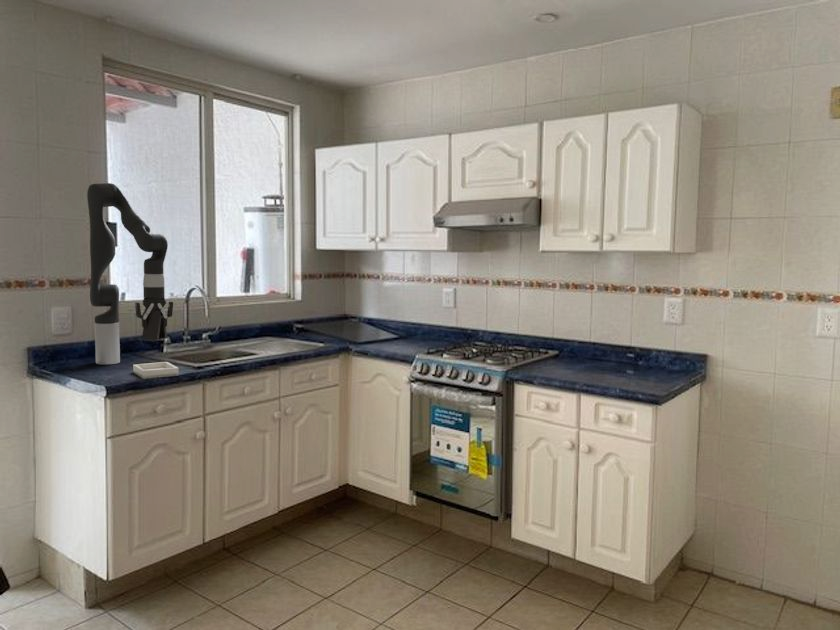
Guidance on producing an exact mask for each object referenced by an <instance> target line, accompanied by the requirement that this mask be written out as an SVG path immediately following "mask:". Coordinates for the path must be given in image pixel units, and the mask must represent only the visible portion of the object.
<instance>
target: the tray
mask: <svg viewBox="0 0 840 630" xmlns="http://www.w3.org/2000/svg"><path fill="white" fill-rule="evenodd" d="M132 365H133V366H132V369H133V370H132V372H133V373H134V374H135V375H137V376H138V377H140V378H141V379H143V380H145V379H147V378H148V379H158V378H166V377H178V376H179V373H180V372H179V371H180V370H179V367H178V366H176V365H174V364H173V363H170V362H168V361H160V362H149V363H138V364H132ZM157 377H158V378H157Z"/></svg>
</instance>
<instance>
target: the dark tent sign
mask: <svg viewBox="0 0 840 630" xmlns="http://www.w3.org/2000/svg"><path fill="white" fill-rule="evenodd" d="M144 310H145V309H144ZM145 311H147V309H146V310H145ZM146 320H147V328H146V329H145V328H143V327H142V335H141V341H145V342H147V341H150V342H151V341H153V342H158V341H162V340H165V339H168V333H167V332H168V331H167V328H164V316H163V314H162V313H161V309H155V310H153V311H152V312H150V313H149V314H148V316H147V318H146Z"/></svg>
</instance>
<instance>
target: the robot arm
mask: <svg viewBox="0 0 840 630" xmlns="http://www.w3.org/2000/svg"><path fill="white" fill-rule="evenodd" d="M86 197H87V199H86V200H87V206H88V215H89V236H90V237H89V256H90V285H89V301H90V304H91V306H92V307H94V308H95V307H97V308H98V307H99V308H100V307H109V309H108V310H107V311H105V312H102V313H99V314H97V315H95V316H94V341H95V342H94V345H95V346H94V347H95V364H96V365H101V366H102V365H105V366H106V365H116V364H119V363H121V355H120V354H121V348H120V346H121V343H120V317H119V316H120V313H119V312H120V310H119V309H120V308H119V306H120V305H119V304H120V288H119V286H118V285H117V284H100V280H101V278H102V276H103V274H104V272H105V271H106V270H107V268H108V267H109V266H110V264H111V263H112V262H113V260H114V258H115V256H116V237H115V236H114V234H113V232H112V231H111V229H110V227H109V226H108V225H107V223H106V221H105V217H104V208H107V207H114V208H115V209H116V210H118V211H119V212H120V221H121V223H122V225H123V227H124V228H125V230H127V232H128V233H130V235H132V237H133V239H134V241H135V243H136V244H137V246H138V248H139V249H140V250H142V251H143V252H145V253H152V254H151V256H150V257H148V258H146V259H144V261H143V280H142V282H143V283H142V285H143V300H142V301H139V302H137V301H136V302H134V310H135V316H136V318H139V319H141V327H142V329H143V328H145V329H146V328H147V320H146V318H147V316H148V314H149V313H150V312H152V311H153V310H155V309H161V313H162V314H163V316H164V328H166V327H168V318H171V317H172V316H173V310H174V301H170V300H169V301H166V300H165V299H166V298H165V297H166V296H165V276H164V263H165V260H166V256H167V251H168V248H169V247H168V246H169V245H168V240H167V238H166V236H165V235H164V234H161V233H150V232H151V227H150V225H148V223H147V222H146V221H145V220H144V219H143V218H142V217H141V216H140V215H139V214H137V212H136V211H135V210H134V208H133V207H132V206H131V204H130V202H129V201H128V199H127V198H126V196H125V195H124V193H123V192H122V190H120V188H119V187H118V186H117V185H116V184H114V183H109V182H108V183H107V182H106V183H102V182H101V183H91V184H90V185H89V186H88V188H87V193H86ZM143 306H144V307H145V309H144V310H143V313H142V311H141V308H142V307H143ZM165 306H166V307H167V313H166V311H165V309H164V307H165ZM146 309H147V311H145V310H146ZM166 329H167V328H166Z"/></svg>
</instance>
